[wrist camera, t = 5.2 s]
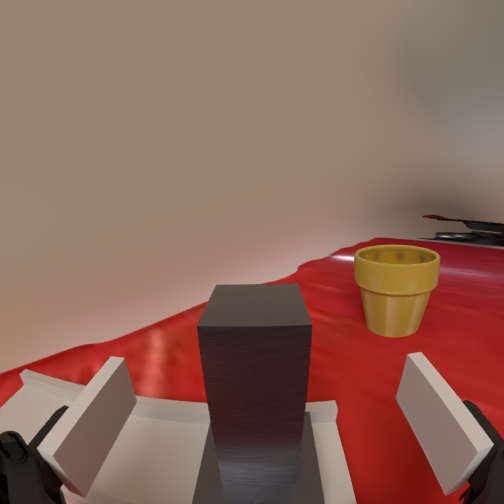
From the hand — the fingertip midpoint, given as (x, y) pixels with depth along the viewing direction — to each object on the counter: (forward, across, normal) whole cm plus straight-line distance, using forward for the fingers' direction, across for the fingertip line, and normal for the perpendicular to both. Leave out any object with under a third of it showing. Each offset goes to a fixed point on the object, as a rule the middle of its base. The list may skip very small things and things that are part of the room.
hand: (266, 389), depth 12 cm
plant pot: (+20, +16, -8) cm, 27 cm away
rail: (0, -8, -8) cm, 12 cm away
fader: (0, 0, -6) cm, 6 cm away
